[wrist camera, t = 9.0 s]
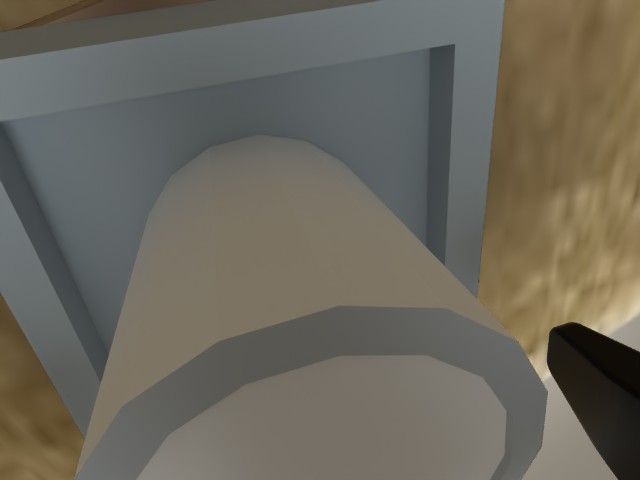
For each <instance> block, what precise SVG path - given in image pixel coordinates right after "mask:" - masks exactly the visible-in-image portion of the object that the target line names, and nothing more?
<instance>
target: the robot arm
mask: <svg viewBox="0 0 640 480" xmlns="http://www.w3.org/2000/svg"><path fill="white" fill-rule="evenodd" d="M547 365H548V368H549V370H550V372H551V374H552V376H553V378H554V379H555V381H556V382H557V384H558V386H559V388H560V389H561V391H562V393H563V395H564V396H565V398H566V400H567V401H568V403H569V404H570V406H571V408H572V410H573V411H574V413H575V415H576V416H577V418H578V419H579V422H580V423H581V425H582V426H583V428H584V430H585V432H586V433H587V435H588V437H589V438H590V440H591V442H592V443H593V445H594V446H595V448H596V450H597V451H598V452H599V454H600V455H601V457H602V458H603V460H604V461H605V462H606V464H607V465H608V467H609V468H610V469H611V471H612V472H613V473H614V474H615V476H616V477H617V479H618V480H640V352H639V351H636V350H635V349H632V348H630V347H628V346H626V345H624V344H622V343H619V342H617V341H615V340H613V339H611V338H609V337H607V336H605V335H602V334H600V333H598V332H596V331H594V330H592V329H590V328H587V327H585V326H583V325H581V324H579V323H575V322H569V323H566V324H563V325H560V326H557V327H554V328H552V330H551V331H550V333H549V342H548V352H547Z"/></svg>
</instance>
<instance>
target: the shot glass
mask: <svg viewBox="0 0 640 480" xmlns="http://www.w3.org/2000/svg"><path fill="white" fill-rule="evenodd" d="M547 395H548V391H547V390H546V388H545V386H544V385H543V383H542V381H541V379H540V378H539V376H538V374H537V373H536V371H535V369H534V368H533V366H532V364H531V362H530V361H529V359H528V357H527V356H526V354H525V352H524V351H523V349H522V347H521V345H520V344H519V342H518V341H517V340H516V339H515V338H514V337H513V336H512V335H511V334H510V333H509V332H508V331H507V330H506V329H505V328H504V327H503V325H502V324H501V323H500V322H499V321H498V320H497V319H496V318H495V317H494V316H493V315H492V314H491V313H490V312H489V311H488V310H487V309H486V308H485V307H484V306H483V305H482V304H481V303H480V302H479V301H478V300H477V299H476V298H475V297H474V296H473V295H472V294H471V293H470V292H469V291H468V290H467V289H466V288H465V286H464V285H463V284H462V283H461V282H460V281H459V280H458V279H457V278H456V277H455V276H454V275H453V274H452V273H451V272H450V271H449V270H448V269H447V268H446V267H445V266H444V265H443V264H442V263H441V262H440V261H439V260H438V259H437V258H436V257H435V256H434V255H433V254H432V253H431V252H430V251H429V250H428V249H427V248H426V246H425V245H424V244H423V243H422V242H421V241H420V240H419V239H418V238H417V237H416V236H415V235H414V234H413V233H412V232H411V231H410V230H409V229H408V228H407V227H406V226H405V225H404V224H403V223H402V222H401V221H400V220H399V219H398V218H397V217H396V216H395V215H394V214H393V213H392V212H391V211H390V210H389V209H388V208H387V206H386V205H385V204H384V203H383V202H382V201H381V200H380V199H379V198H378V197H377V196H376V195H375V194H374V193H373V192H372V191H371V190H370V189H369V188H368V187H367V186H366V185H365V184H364V183H363V182H362V181H361V180H360V179H359V178H358V177H357V176H356V175H355V174H354V173H353V172H352V171H351V170H350V169H349V168H348V166H347V165H346V164H345V163H344V162H342V161H341V160H339V159H337V158H336V157H334V156H332V155H330V154H329V153H327V152H325V151H323V150H322V149H320V148H318V147H316V146H315V145H313V144H311V143H310V142H308V141H306V140H300V139H292V138H284V137H276V136H267V135H259V134H258V135H254V136H250V137H246V138H242V139H238V140H235V141H231V142H227V143H223V144H219V145H215V146H212V147H209V148H208V149H206V150H205V151H204V152H202V153H201V154H200V155H198V156H197V157H196V158H194V159H193V160H191V161H190V162H189V163H187V164H186V165H185V166H183V167H182V168H181V169H179V170H178V171H177V172H175V173H174V174H172V175H171V176H170V178H169V180H168V182H167V183H166V185H165V187H164V188H163V190H162V192H161V194H160V195H159V197H158V199H157V201H156V202H155V204H154V206H153V208H152V209H151V211H150V213H149V215H148V219H147V222H146V226H145V229H144V233H143V236H142V240H141V243H140V247H139V250H138V254H137V257H136V261H135V264H134V268H133V272H132V275H131V279H130V282H129V286H128V289H127V293H126V296H125V300H124V303H123V307H122V310H121V314H120V317H119V321H118V324H117V328H116V332H115V335H114V339H113V342H112V346H111V349H110V353H109V356H108V360H107V363H106V367H105V370H104V374H103V377H102V381H101V384H100V388H99V392H98V395H97V399H96V402H95V406H94V409H93V413H92V416H91V420H90V423H89V427H88V430H87V434H86V437H85V441H84V444H83V448H82V452H81V455H80V459H79V462H78V466H77V469H76V473H75V476H74V480H521V479H522V477H523V476H524V474H525V473H526V471H527V470H528V468H529V466H530V465H531V463H532V461H533V460H534V458H535V457H536V455H537V454H538V452H539V450H540V449H541V447H542V439H543V431H544V422H545V413H546V404H547Z"/></svg>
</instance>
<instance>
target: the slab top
mask: <svg viewBox="0 0 640 480" xmlns="http://www.w3.org/2000/svg"><path fill="white" fill-rule="evenodd" d="M504 4H505V0H214V1H207V2H200V3H193V4H187V5H180V6H173V7H166V8H160V9H153V10H146V11H139V12H133V13H126V14H119V15H112V16H106V17H99V18H92V19H85V20H78V21H72V22H65V23H58V24H51V25H45V26H38V27H31V28H24V29H18V30H11V31H4V32H0V293H1V294H2V296H3V298H4V300H5V301H6V303H7V305H8V307H9V308H10V310H11V312H12V314H13V315H14V317H15V319H16V321H17V322H18V324H19V326H20V328H21V329H22V331H23V333H24V335H25V336H26V338H27V340H28V342H29V343H30V345H31V347H32V349H33V350H34V352H35V354H36V356H37V357H38V359H39V361H40V362H41V364H42V366H43V368H44V369H45V371H46V373H47V375H48V376H49V378H50V380H51V382H52V383H53V385H54V387H55V389H56V390H57V392H58V394H59V396H60V397H61V399H62V401H63V403H64V404H65V406H66V408H67V410H68V411H69V413H70V415H71V417H72V418H73V420H74V422H75V424H76V425H77V427H78V429H79V431H80V432H81V434H82V436H83V438H84V439H85V437H86V434H87V430H88V427H89V423H90V420H91V416H92V413H93V409H94V406H95V402H96V399H97V395H98V392H99V388H100V384H101V381H102V377H103V374H104V370H105V367H106V363H107V360H108V356H109V353H110V349H111V346H112V342H113V339H114V335H115V332H116V328H117V324H118V321H119V317H120V314H121V310H122V307H123V303H124V300H125V296H126V293H127V289H128V286H129V282H130V279H131V275H132V272H133V268H134V264H135V261H136V257H137V254H138V250H139V247H140V243H141V240H142V236H143V233H144V229H145V226H146V222H147V219H148V215H149V213H150V211H151V209H152V208H153V206H154V204H155V202H156V201H157V199H158V197H159V195H160V194H161V192H162V190H163V188H164V187H165V185H166V183H167V182H168V180H169V178H170V176H171V175H172V174H174V173H175V172H177V171H178V170H179V169H181V168H182V167H183V166H185V165H186V164H187V163H189V162H190V161H191V160H193V159H194V158H196V157H197V156H198V155H200V154H201V153H202V152H204V151H205V150H206V149H208V148H209V147H212V146H215V145H219V144H223V143H227V142H231V141H235V140H238V139H242V138H246V137H250V136H254V135H258V134H259V135H267V136H276V137H284V138H292V139H300V140H306V141H308V142H310V143H311V144H313V145H315V146H316V147H318V148H320V149H322V150H323V151H325V152H327V153H329V154H330V155H332V156H334V157H336V158H337V159H339V160H341V161H342V162H344V163H345V164H346V165H347V166H348V168H349V169H350V170H351V171H352V172H353V173H354V174H355V175H356V176H357V177H358V178H359V179H360V180H361V181H362V182H363V183H364V184H365V185H366V186H367V187H368V188H369V189H370V190H371V191H372V192H373V193H374V194H375V195H376V196H377V197H378V198H379V199H380V200H381V201H382V202H383V203H384V204H385V205H386V206H387V208H388V209H389V210H390V211H391V212H392V213H393V214H394V215H395V216H396V217H397V218H398V219H399V220H400V221H401V222H402V223H403V224H404V225H405V226H406V227H407V228H408V229H409V230H410V231H411V232H412V233H413V234H414V235H415V236H416V237H417V238H418V239H419V240H420V241H421V242H422V243H423V244H424V245H425V246H426V248H427V249H428V250H429V251H430V252H431V253H432V254H433V255H434V256H435V257H436V258H437V259H438V260H439V261H440V262H441V263H442V264H443V265H444V266H445V267H446V268H447V269H448V270H449V271H450V272H451V273H452V274H453V275H454V276H455V277H456V278H457V279H458V280H459V281H460V282H461V283H462V284H463V285H464V286H465V288H466V289H467V290H468V291H469V292H470V293H471V294H472V295H473V296H474V297H475V298H476V299H477V293H478V282H479V272H480V261H481V250H482V240H483V229H484V218H485V208H486V197H487V186H488V175H489V165H490V154H491V143H492V133H493V122H494V111H495V100H496V90H497V79H498V68H499V58H500V47H501V36H502V26H503V15H504Z"/></svg>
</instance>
